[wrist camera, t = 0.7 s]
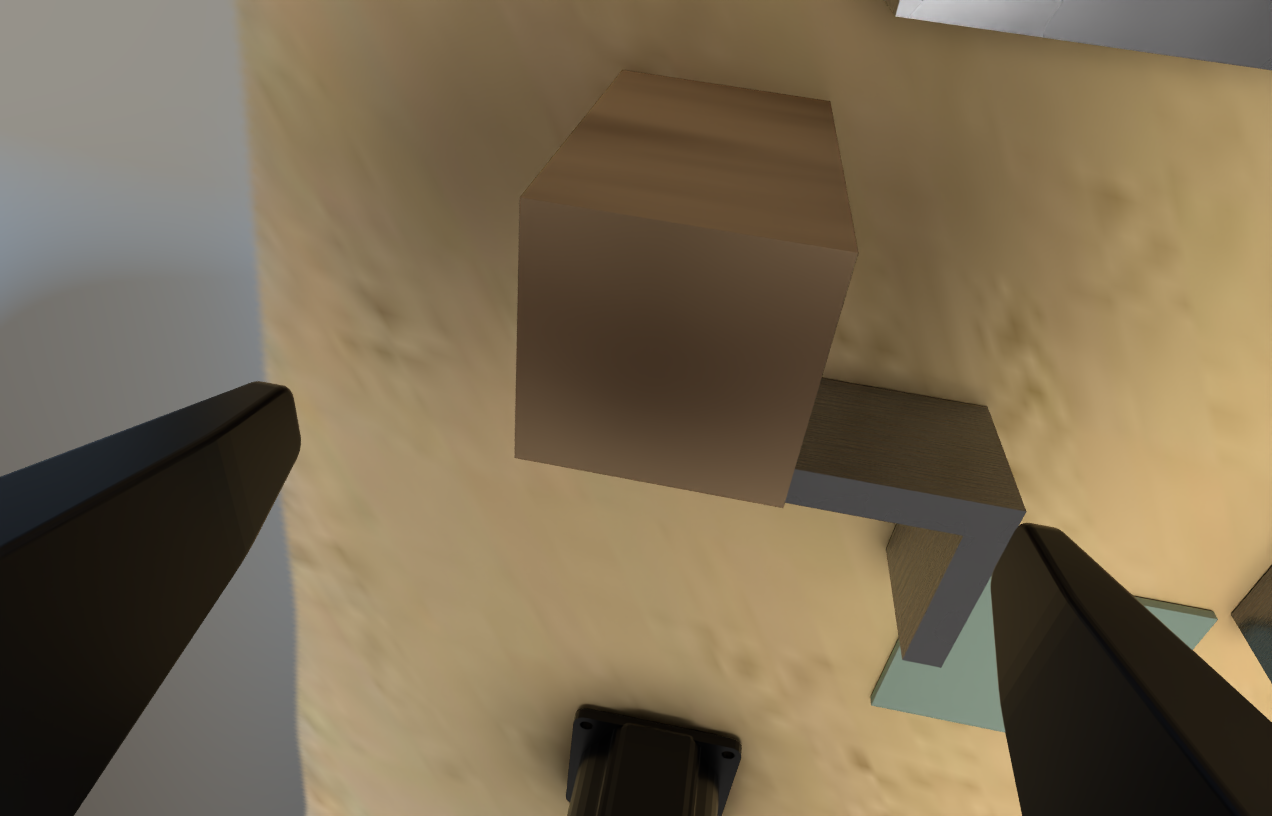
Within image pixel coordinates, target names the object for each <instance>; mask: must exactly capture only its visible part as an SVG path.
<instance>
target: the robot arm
mask: <svg viewBox="0 0 1272 816" xmlns="http://www.w3.org/2000/svg"><path fill="white" fill-rule="evenodd" d="M300 446H301V435H300V430H299V424H298V419H297V413H296V408H295V402H294V397H293V394H292V392H291V391H290V389H289V388H287V387H286V386H283V385H277V384H272V383H266V382H260V381H258V382H257V381H256V382H252V383H249V384H246V385H243V386H241V387H238V388H236V389H233V390H230V391H228V392H225V393H222V394H220V395H217V396H214V397H212V398H209V399H206V400H204V401H201V402H198V403H196V404H193V405H190V406H188V407H185V408H182V409H180V410H177V411H174V412H172V413H169V414H166V415H164V416H161V417H158V418H156V419H153V420H151V421H148V422H145V423H142V424H140V425H137V426H134V427H132V428H129V429H126V430H124V431H121V432H118V433H116V434H113V435H110V436H108V437H105V438H102V439H100V440H97V441H95V442H92V443H89V444H86V445H84V446H81V447H79V448H76V449H73V450H70V451H68V452H65V453H63V454H60V455H57V456H54V457H52V458H49V459H46V460H44V461H41V462H38V463H36V464H33V465H31V466H28V467H25V468H23V469H20V470H17V471H14V472H12V473H9V474H7V475H4V476H1V477H0V816H74V815H75V813H76V812H77V810H78V809H79V807H80V806H81V804H82V802H83V801H84V800H85V798H86V797H87V795H88V794H89V792H90V791H91V789H92V788H93V786H94V785H95V783H96V782H97V780H98V779H99V777H100V775H101V774H102V773H103V771H104V770H105V768H106V766H107V765H108V764H109V762H110V760H111V759H112V758H113V756H114V755H115V753H116V752H117V750H118V749H119V747H120V745H121V744H122V742H123V741H124V739H125V738H126V736H127V735H128V733H129V732H130V730H131V729H132V727H133V726H134V724H135V723H136V721H137V720H138V718H139V717H140V715H141V714H142V712H143V711H144V709H145V708H146V706H147V705H148V703H149V702H150V700H151V699H152V697H153V696H154V694H155V693H156V691H157V690H158V688H159V686H160V685H161V684H162V682H163V681H164V679H165V678H166V676H167V675H168V673H169V672H170V670H171V669H172V667H173V666H174V664H175V663H176V661H177V660H178V658H179V657H180V655H181V654H182V652H183V651H184V649H185V648H186V646H187V645H188V643H189V642H190V640H191V639H192V637H193V636H194V634H195V633H196V631H197V630H198V628H199V627H200V625H201V624H202V622H203V621H204V619H205V618H206V616H207V615H208V613H209V612H210V610H211V609H212V607H213V606H214V604H215V603H216V601H217V600H218V598H219V597H220V595H221V594H222V592H223V590H224V589H225V588H226V586H227V585H228V583H229V582H230V580H231V579H232V577H233V576H234V574H235V572H236V571H237V569H238V568H239V566H240V565H241V563H242V561H243V560H244V558H245V557H246V555H247V553H248V552H249V550H250V548H251V546H252V544H253V543H254V541H255V539H256V537H257V535H258V533H259V531H260V529H261V527H262V526H263V523H264V522H265V520H266V518H267V516H268V514H269V512H270V510H271V508H272V506H273V504H274V502H275V500H276V498H277V496H278V494H279V492H280V490H281V489H282V487H283V485H284V483H285V481H286V479H287V477H288V475H289V473H290V471H291V469H292V467H293V465H294V463H295V461H296V459H297V457H298V454H299V451H300ZM990 588H991V602H992V615H993V627H994V639H995V652H996V664H997V676H998V688H999V697H1000V706H1001V711H1002V717H1003V723H1004V728H1005V733H1006V738H1007V743H1008V748H1009V753H1010V758H1011V763H1012V768H1013V772H1014V777H1015V782H1016V787H1017V792H1018V797H1019V802H1020V807H1021V812H1022V816H1272V722H1271V721H1270V720H1269V719H1267V718H1266V717H1265V716H1264V715H1263V714H1262V713H1261V712H1260V711H1259V710H1258V709H1256V708H1255V707H1254V706H1253V705H1252V704H1251V703H1250V702H1249V701H1248V700H1247V699H1246V698H1244V697H1243V696H1242V695H1241V694H1240V693H1239V692H1238V691H1237V690H1236V689H1235V688H1233V687H1232V686H1231V685H1230V684H1229V683H1228V682H1227V681H1226V680H1225V679H1224V678H1223V677H1221V676H1220V675H1219V674H1218V673H1217V672H1216V671H1215V670H1214V669H1213V668H1212V667H1210V666H1209V665H1208V664H1207V663H1206V662H1205V661H1204V660H1203V659H1202V658H1201V657H1200V656H1198V655H1197V654H1196V653H1195V652H1194V651H1193V650H1192V649H1191V648H1190V647H1189V646H1187V645H1186V644H1185V643H1184V642H1183V641H1182V640H1181V639H1180V638H1179V637H1178V636H1176V635H1175V634H1174V633H1173V632H1172V631H1171V630H1170V629H1169V628H1168V627H1167V626H1166V625H1164V624H1163V623H1162V622H1161V621H1160V620H1159V619H1158V618H1157V617H1156V616H1155V615H1153V614H1152V613H1151V612H1150V611H1149V610H1148V609H1147V608H1146V607H1145V606H1144V605H1143V604H1141V603H1140V602H1139V601H1138V600H1137V599H1136V598H1135V597H1134V596H1133V595H1132V594H1130V593H1129V592H1128V591H1127V590H1126V589H1125V588H1124V587H1123V586H1122V585H1121V584H1120V583H1118V582H1117V581H1116V580H1115V579H1114V578H1113V577H1112V576H1111V575H1110V574H1109V573H1107V572H1106V571H1105V570H1104V569H1103V568H1102V567H1101V566H1100V565H1099V564H1098V563H1097V562H1095V561H1094V560H1093V559H1092V558H1091V557H1090V556H1089V555H1088V554H1087V553H1086V552H1084V551H1083V550H1082V549H1081V548H1080V547H1079V546H1078V545H1077V544H1076V543H1075V542H1073V541H1072V540H1071V539H1070V538H1069V537H1068V536H1067V535H1066V534H1065V533H1063V532H1062V531H1061V530H1059V529H1057V528H1054V527H1049V526H1044V525H1038V524H1033V523H1023V524H1021V525H1019V526H1018V527H1017V528H1016V530H1015V531H1014V533H1013V535H1012V537H1011V538H1010V540H1009V542H1008V544H1007V546H1006V548H1005V550H1004V551H1003V553H1002V555H1001V557H1000V559H999V561H998V562H997V564H996V566H995V568H994V571H993V574H992V578H991V586H990ZM741 750H742V745H741V744H740V742H738V741H737V740H735V739H732V738H728V737H723V736H718V735H713V734H709V733H704V732H699V731H694V730H689V729H684V728H680V727H675V726H670V725H665V724H660V723H655V722H651V721H646V720H641V719H636V718H631V717H627V716H622V715H617V714H612V713H607V712H602V711H598V710H593V709H586V708H584V709H580V710H578V711H577V712H576V715H575V719H574V724H573V733H572V743H571V752H570V762H569V772H568V781H567V791H566V799H567V800H568V801H569V802H570V806H569V810H568V814H567V816H722V813H723V810H724V807H725V804H726V801H727V798H728V795H729V792H730V789H731V786H732V783H733V780H734V777H735V774H736V772H737V769H738V766H739V763H740V760H741Z"/></svg>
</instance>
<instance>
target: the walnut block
mask: <svg viewBox="0 0 1272 816" xmlns="http://www.w3.org/2000/svg"><path fill="white" fill-rule="evenodd" d="M857 256H858V248H857V243H856V237H855V232H854V226H853V221H852V216H851V210H850V205H849V199H848V194H847V189H846V183H845V178H844V173H843V167H842V162H841V156H840V151H839V146H838V140H837V135H836V130H835V124H834V119H833V113H832V108H831V103H830V101H824V100H818V99H811V98H805V97H798V96H791V95H785V94H778V93H771V92H765V91H758V90H752V89H745V88H738V87H732V86H725V85H719V84H712V83H705V82H699V81H692V80H686V79H679V78H672V77H666V76H659V75H652V74H646V73H639V72H633V71H626V70H622V71H621V72H620V74H619V75H618V76H617V77H616V79H615V80H614V81H613V82H612V84H611V85H610V86H609V87H608V89H607V90H606V91H605V92H604V94H603V95H602V96H601V97H600V98H599V100H598V101H597V102H596V103H595V105H594V106H593V107H592V108H591V110H590V111H589V112H588V113H587V115H586V116H585V117H584V118H583V120H582V121H581V122H580V123H579V125H578V126H577V127H576V128H575V130H574V131H573V132H572V133H571V135H570V136H569V137H568V138H567V139H566V141H565V142H564V143H563V144H562V146H561V147H560V148H559V149H558V151H557V152H556V153H555V154H554V156H553V157H552V158H551V159H550V161H549V162H548V163H547V164H546V166H545V167H544V168H543V169H542V171H541V172H540V173H539V174H538V175H537V177H536V178H535V179H534V180H533V182H532V183H531V184H530V185H529V187H528V188H527V189H526V190H525V192H524V193H523V194H522V195H521V197H520V211H519V261H518V311H517V360H516V410H515V458H518V459H524V460H529V461H534V462H540V463H545V464H550V465H556V466H561V467H566V468H572V469H577V470H582V471H588V472H593V473H599V474H604V475H609V476H615V477H620V478H625V479H631V480H636V481H641V482H647V483H652V484H657V485H663V486H668V487H673V488H679V489H684V490H690V491H695V492H700V493H706V494H711V495H716V496H722V497H727V498H732V499H738V500H743V501H748V502H754V503H759V504H765V505H770V506H775V507H781V508H783V507H784V503H785V500H786V497H787V493H788V490H789V487H790V483H791V480H792V476H793V473H794V470H795V466H796V463H797V459H798V456H799V453H800V449H801V446H802V442H803V439H804V436H805V432H806V429H807V426H808V422H809V419H810V415H811V412H812V409H813V405H814V402H815V398H816V395H817V392H818V388H819V385H820V382H821V378H822V375H823V371H824V368H825V365H826V361H827V358H828V354H829V351H830V348H831V344H832V341H833V337H834V334H835V331H836V327H837V324H838V321H839V317H840V314H841V310H842V307H843V304H844V300H845V297H846V293H847V290H848V287H849V283H850V280H851V276H852V273H853V270H854V266H855V263H856V260H857Z"/></svg>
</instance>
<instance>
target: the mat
mask: <svg viewBox="0 0 1272 816" xmlns="http://www.w3.org/2000/svg"><path fill="white" fill-rule="evenodd" d="M991 578H992V576H991V577H990V579H989V581H988V583H987V585H986V587H985V588H984V590H983V592H982V594H981V596H980V598H979V599H978V601H977V603H976V605H975V607H974V609H973V610H972V612H971V614H970V616H969V618H968V620H967V621H966V623H965V625H964V627H963V629H962V631H961V632H960V634H959V636H958V638H957V640H956V642H955V643H954V645H953V647H952V649H951V651H950V653H949V654H948V656H947V658H946V660H945V662H944V664H943V665H942V667H941V668H940V667H935V666H930V665H924V664H919V663H914V662H909V661H904V660H902V656H901V649H900V642H899V639H898V641H897V643H896V645H895V647H894V649H893V652H892V654H891V656H890V658H889V660H888V662H887V664H886V666H885V668H884V670H883V673H882V675H881V677H880V679H879V681H878V683H877V685H876V687H875V689H874V691H873V694H872V696H871V705H872V706H877V707H882V708H887V709H892V710H897V711H902V712H907V713H911V714H916V715H921V716H926V717H931V718H936V719H941V720H946V721H951V722H956V723H961V724H966V725H971V726H976V727H981V728H986V729H991V730H996V731H1001V732H1005V728H1004V723H1003V717H1002V711H1001V706H1000V697H999V688H998V676H997V664H996V652H995V639H994V627H993V615H992V602H991V588H990V586H991ZM1135 598H1136V599H1137V600H1138V601H1139V602H1140V603H1141V604H1143V605H1144V606H1145V607H1146V608H1147V609H1148V610H1149V611H1150V612H1151V613H1152V614H1153V615H1155V616H1156V617H1157V618H1158V619H1159V620H1160V621H1161V622H1162V623H1163V624H1164V625H1166V626H1167V627H1168V628H1169V629H1170V630H1171V631H1172V632H1173V633H1174V634H1175V635H1176V636H1178V637H1179V638H1180V639H1181V640H1182V641H1183V642H1184V643H1185V644H1186V645H1187V646H1189V647H1190V648H1191V649H1192V650H1193V649H1194V648H1195V646H1196V645H1197V644H1198V643H1199V642H1200V640H1201V639H1202V638H1203V637H1204V636H1205V634H1206V633H1207V632H1208V631H1209V630H1210V628H1211V627H1212V626H1213V625H1214V624H1215V622H1216V621H1217V620H1218V619H1217V617H1216V615H1215V613H1214V612H1213V611H1209V610H1203V609H1198V608H1193V607H1187V606H1182V605H1177V604H1172V603H1166V602H1161V601H1156V600H1150V599H1145V598H1140V597H1135Z"/></svg>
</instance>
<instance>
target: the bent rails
mask: <svg viewBox="0 0 1272 816" xmlns="http://www.w3.org/2000/svg"><path fill="white" fill-rule="evenodd" d="M884 1H885V3H886V4H887V5H888V7H889V8H890V10H891V11H892V12H893V14H894V15H895V16H896V17H903V18H910V19H917V20H924V21H931V22H938V23H945V24H952V25H959V26H966V27H973V28H980V29H987V30H994V31H1001V32H1008V33H1015V34H1022V35H1029V36H1036V37H1043V38H1050V39H1057V40H1064V41H1071V42H1078V43H1085V44H1092V45H1099V46H1106V47H1113V48H1120V49H1127V50H1134V51H1141V52H1148V53H1155V54H1162V55H1169V56H1176V57H1183V58H1190V59H1197V60H1204V61H1211V62H1218V63H1225V64H1232V65H1239V66H1246V67H1253V68H1260V69H1267V70H1272V0H884ZM785 503H790V504H795V505H801V506H806V507H811V508H817V509H822V510H827V511H833V512H838V513H843V514H849V515H854V516H860V517H865V518H870V519H876V520H881V521H886V522H892V523H897V524H896V527H895V529H894V532H893V534H892V536H891V539H890V541H889V544H888V546H887V548H886V553H887V560H888V567H889V574H890V581H891V587H892V594H893V601H894V608H895V615H896V622H897V629H898V635H899V642H900V649H901V656H902V660H904V661H909V662H914V663H919V664H924V665H930V666H935V667H940V668H941V667H942V665H943V664H944V662H945V660H946V658H947V656H948V654H949V653H950V651H951V649H952V647H953V645H954V643H955V642H956V640H957V638H958V636H959V634H960V632H961V631H962V629H963V627H964V625H965V623H966V621H967V620H968V618H969V616H970V614H971V612H972V610H973V609H974V607H975V605H976V603H977V601H978V599H979V598H980V596H981V594H982V592H983V590H984V588H985V587H986V585H987V583H988V581H989V579H990V577H991V576H992V574H993V571H994V568H995V566H996V564H997V562H998V561H999V559H1000V557H1001V555H1002V553H1003V551H1004V550H1005V548H1006V546H1007V544H1008V542H1009V540H1010V538H1011V537H1012V535H1013V533H1014V531H1015V530H1016V528H1017V527H1018V526H1019V524H1020V522H1021V521H1022V519H1023V517H1024V515H1025V513H1026V509H1025V506H1024V504H1023V501H1022V498H1021V496H1020V493H1019V490H1018V488H1017V485H1016V482H1015V480H1014V477H1013V474H1012V472H1011V469H1010V466H1009V463H1008V461H1007V458H1006V455H1005V453H1004V450H1003V447H1002V445H1001V442H1000V439H999V437H998V434H997V431H996V429H995V426H994V423H993V421H992V418H991V415H990V412H989V410H988V407H984V406H978V405H972V404H966V403H961V402H955V401H949V400H944V399H938V398H932V397H926V396H921V395H915V394H909V393H904V392H898V391H892V390H886V389H881V388H875V387H869V386H864V385H858V384H852V383H846V382H841V381H835V380H829V379H824V378H821V382H820V385H819V388H818V392H817V395H816V398H815V402H814V405H813V409H812V412H811V415H810V419H809V422H808V426H807V429H806V432H805V436H804V439H803V442H802V446H801V449H800V453H799V456H798V459H797V463H796V466H795V470H794V473H793V476H792V480H791V483H790V487H789V490H788V493H787V497H786V500H785ZM1231 615H1232V617H1233V619H1234V621H1235V622H1236V624H1237V626H1238V627H1239V629H1240V631H1241V632H1242V634H1243V636H1244V637H1245V639H1246V641H1247V642H1248V644H1249V646H1250V647H1251V649H1252V651H1253V652H1254V654H1255V656H1256V658H1257V659H1258V661H1259V663H1260V664H1261V666H1262V668H1263V669H1264V671H1265V673H1266V674H1267V676H1268V678H1269V679H1270V681H1271V683H1272V567H1271V568H1270V569H1269V570H1268V572H1267V573H1266V574H1265V575H1264V576H1263V577H1262V579H1261V580H1260V581H1259V582H1258V583H1257V585H1256V586H1255V587H1254V588H1253V589H1252V590H1251V592H1250V593H1249V594H1248V595H1247V596H1246V598H1245V599H1244V600H1243V601H1242V602H1241V604H1240V605H1239V606H1238V607H1237V608H1236V609H1235V611H1234V612H1233V613H1232V614H1231Z"/></svg>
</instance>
